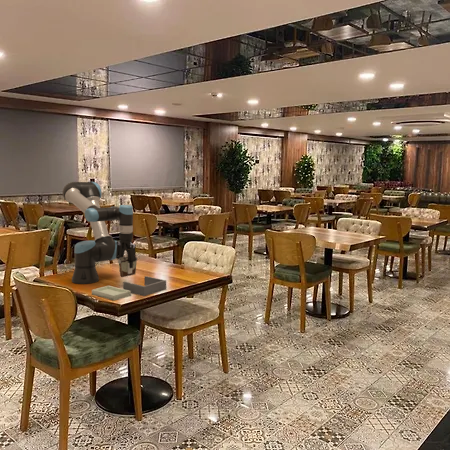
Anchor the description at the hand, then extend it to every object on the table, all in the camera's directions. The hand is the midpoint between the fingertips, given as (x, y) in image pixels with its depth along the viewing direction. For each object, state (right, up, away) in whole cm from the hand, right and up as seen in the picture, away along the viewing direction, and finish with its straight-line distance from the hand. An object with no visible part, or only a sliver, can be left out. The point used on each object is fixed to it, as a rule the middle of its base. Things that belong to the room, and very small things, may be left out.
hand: (125, 272), depth 250 cm
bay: (+12, -9, -8) cm, 17 cm away
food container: (0, -2, 0) cm, 2 cm away
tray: (-3, -10, -19) cm, 21 cm away
